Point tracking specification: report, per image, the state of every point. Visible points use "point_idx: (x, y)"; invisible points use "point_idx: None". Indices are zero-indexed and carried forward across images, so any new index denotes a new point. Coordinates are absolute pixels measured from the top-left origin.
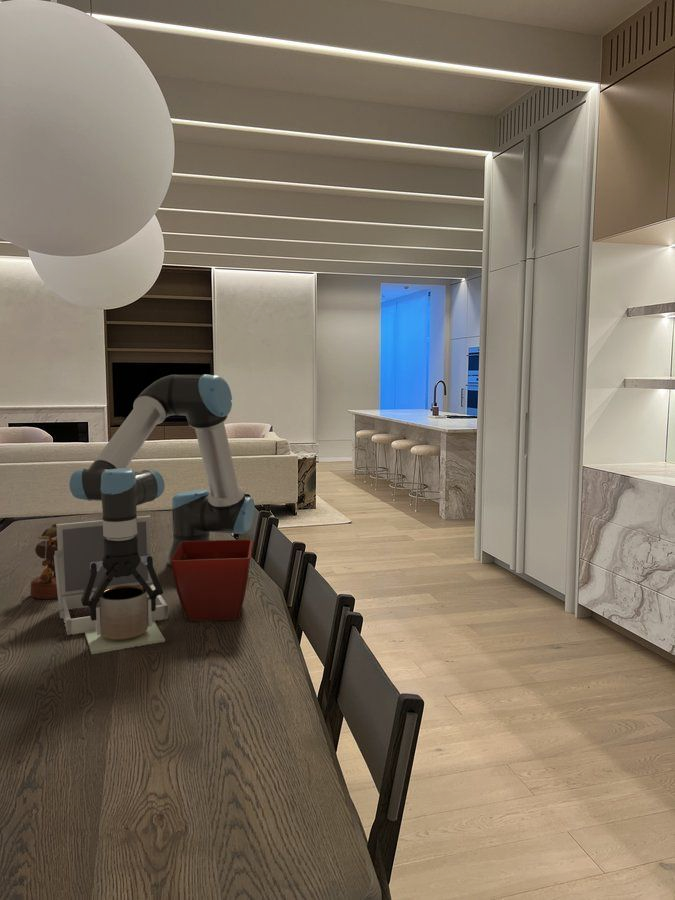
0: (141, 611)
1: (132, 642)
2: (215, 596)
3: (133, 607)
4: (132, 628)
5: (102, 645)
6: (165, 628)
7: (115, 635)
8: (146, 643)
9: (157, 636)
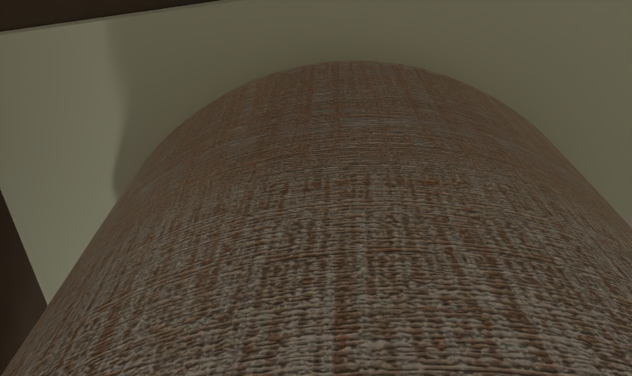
0: (58, 295)
1: (275, 58)
2: None
3: (154, 287)
4: (253, 101)
5: (574, 75)
6: (7, 331)
7: (465, 84)
8: (133, 15)
9: (32, 137)
